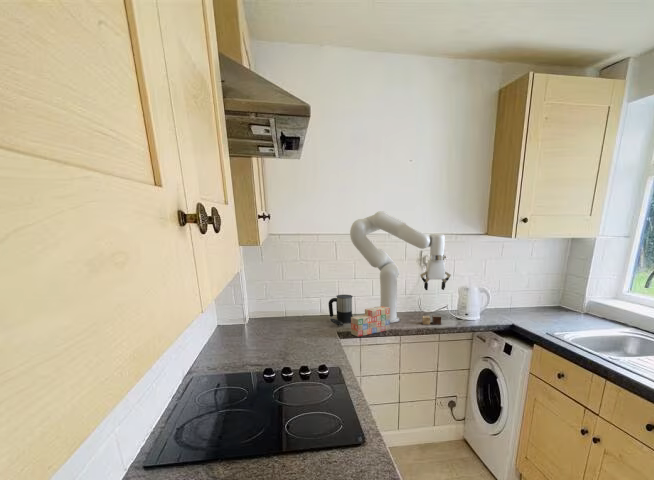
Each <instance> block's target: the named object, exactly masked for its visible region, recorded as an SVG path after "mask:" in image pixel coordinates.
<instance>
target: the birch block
mask: <svg viewBox="0 0 654 480" xmlns="http://www.w3.org/2000/svg"><path fill="white" fill-rule="evenodd" d="M421 323H422V325H431V317H430V315H422V318H421Z"/></svg>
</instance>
